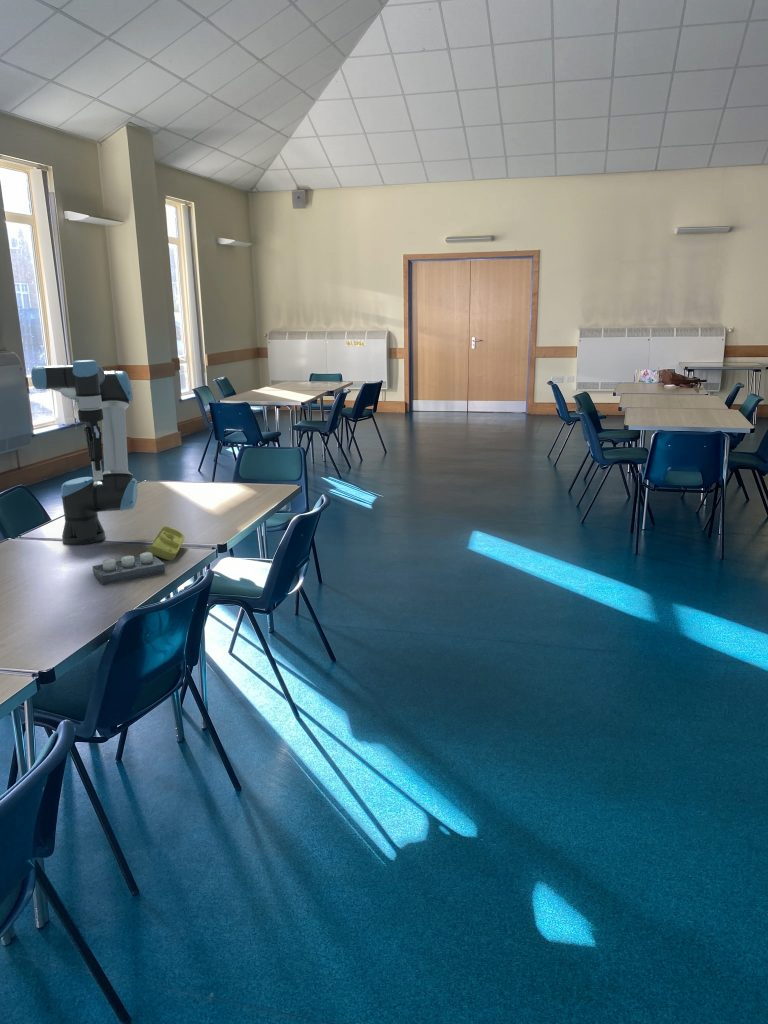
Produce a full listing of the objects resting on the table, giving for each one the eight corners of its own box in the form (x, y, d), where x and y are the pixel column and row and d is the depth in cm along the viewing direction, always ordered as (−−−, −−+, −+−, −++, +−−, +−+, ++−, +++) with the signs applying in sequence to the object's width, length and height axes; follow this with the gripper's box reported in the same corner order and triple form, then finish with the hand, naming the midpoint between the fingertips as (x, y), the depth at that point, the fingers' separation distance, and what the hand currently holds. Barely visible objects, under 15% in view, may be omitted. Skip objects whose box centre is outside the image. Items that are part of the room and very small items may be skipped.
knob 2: (139, 568, 251) (138, 553, 250) (151, 566, 253) (150, 551, 252) (143, 572, 248) (141, 556, 246) (155, 569, 250) (153, 554, 248)
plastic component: (175, 555, 259) (147, 543, 257) (168, 573, 261) (140, 562, 259) (187, 534, 277) (161, 523, 275) (180, 551, 279) (154, 540, 277)
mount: (93, 574, 247) (92, 566, 246) (154, 563, 257) (153, 554, 257) (102, 585, 237) (101, 576, 236) (165, 572, 248) (164, 563, 247)
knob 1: (102, 576, 245) (100, 560, 243) (115, 573, 247) (113, 558, 245) (105, 579, 241) (104, 564, 240) (118, 577, 243) (116, 561, 242)
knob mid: (121, 572, 248) (119, 557, 246) (133, 570, 250) (132, 555, 249) (124, 575, 245) (123, 560, 243) (137, 573, 247) (135, 558, 245)
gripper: (73, 407, 247) (82, 477, 253) (82, 411, 237) (91, 484, 243) (96, 405, 251) (104, 475, 257) (107, 409, 241) (115, 481, 247)
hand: (98, 479), depth 250 cm, fingers closed
